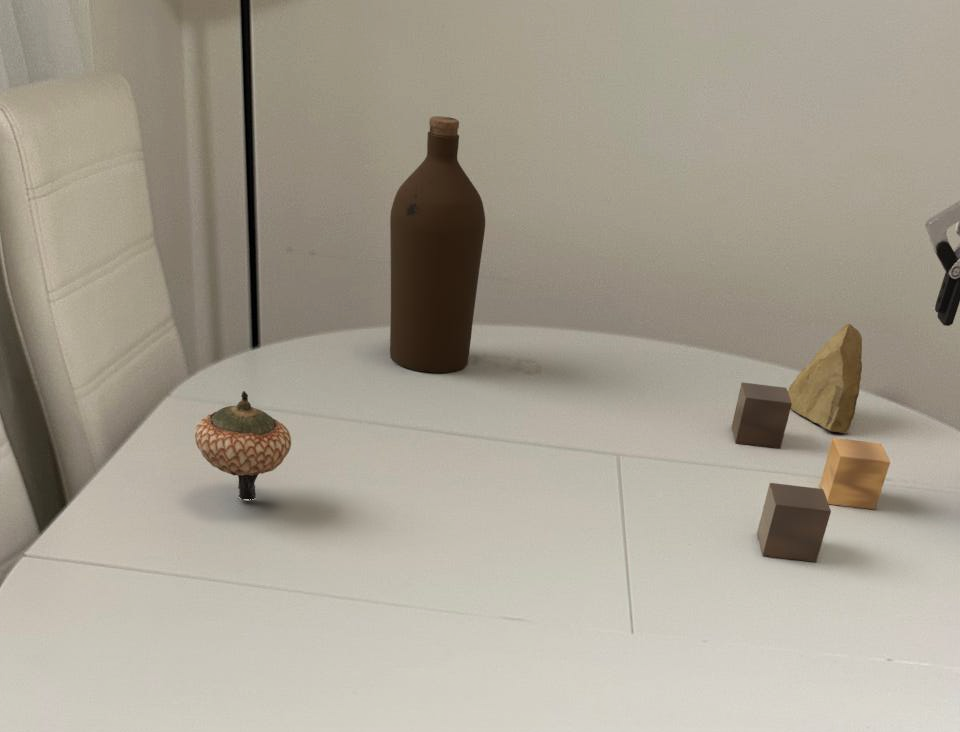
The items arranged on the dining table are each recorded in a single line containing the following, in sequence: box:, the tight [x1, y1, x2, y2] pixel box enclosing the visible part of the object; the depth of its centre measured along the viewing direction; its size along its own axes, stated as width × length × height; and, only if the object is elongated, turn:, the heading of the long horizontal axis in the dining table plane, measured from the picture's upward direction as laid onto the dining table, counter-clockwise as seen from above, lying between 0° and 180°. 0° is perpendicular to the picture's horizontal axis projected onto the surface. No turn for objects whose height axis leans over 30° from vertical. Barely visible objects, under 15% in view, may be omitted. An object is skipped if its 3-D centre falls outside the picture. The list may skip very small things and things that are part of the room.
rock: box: [787, 323, 863, 434], centre depth 139 cm, size 11×9×10 cm
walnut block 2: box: [756, 482, 832, 563], centre depth 111 cm, size 5×5×5 cm
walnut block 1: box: [731, 382, 792, 449], centre depth 133 cm, size 5×5×5 cm
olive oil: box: [389, 115, 486, 373], centre depth 136 cm, size 11×11×25 cm
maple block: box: [819, 437, 891, 510], centre depth 122 cm, size 5×5×5 cm
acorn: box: [194, 390, 292, 501], centre depth 106 cm, size 8×8×10 cm
